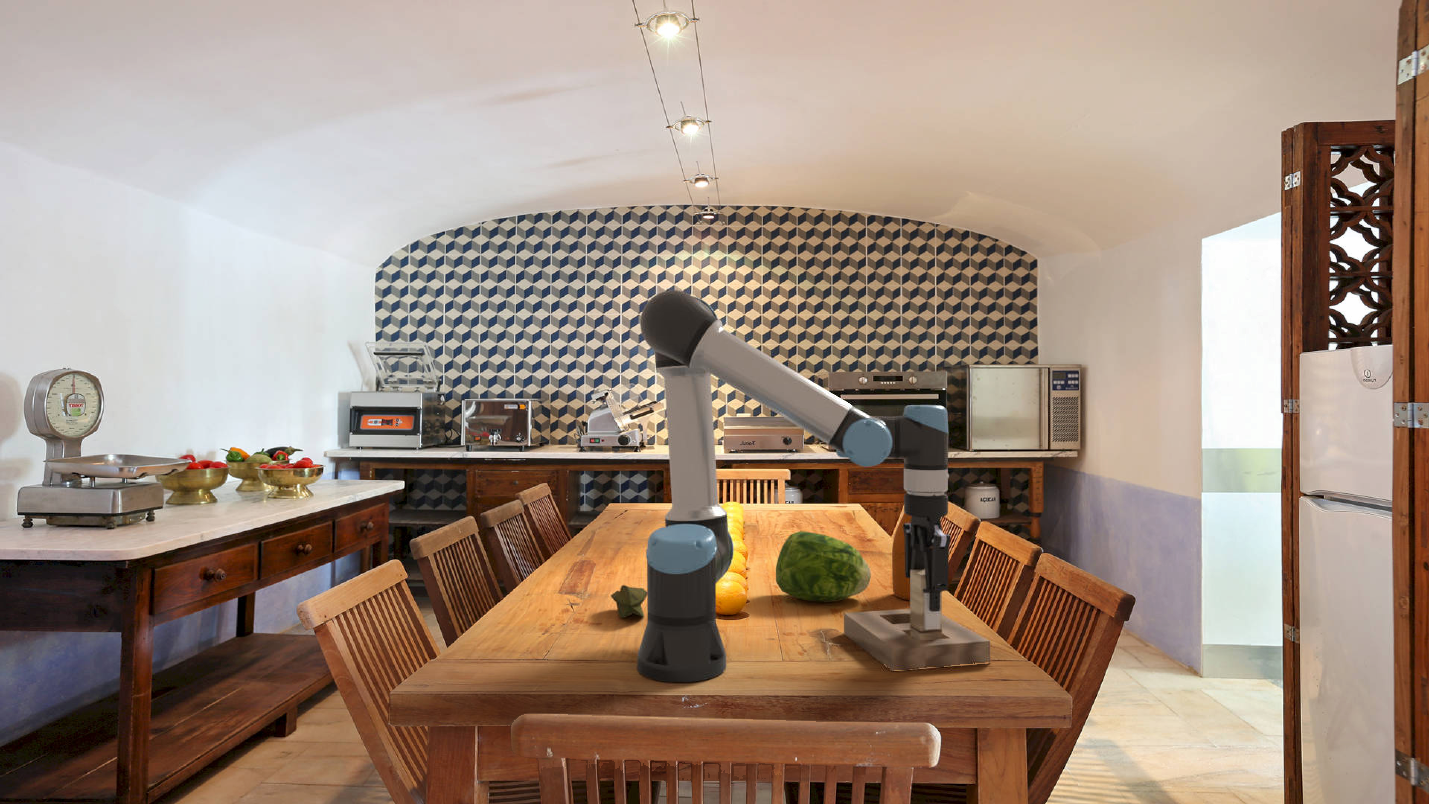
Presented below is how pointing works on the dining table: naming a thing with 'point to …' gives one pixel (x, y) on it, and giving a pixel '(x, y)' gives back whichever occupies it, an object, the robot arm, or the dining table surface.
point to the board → (913, 641)
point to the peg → (920, 608)
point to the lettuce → (820, 568)
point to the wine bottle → (900, 562)
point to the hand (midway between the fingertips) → (925, 624)
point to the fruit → (629, 600)
